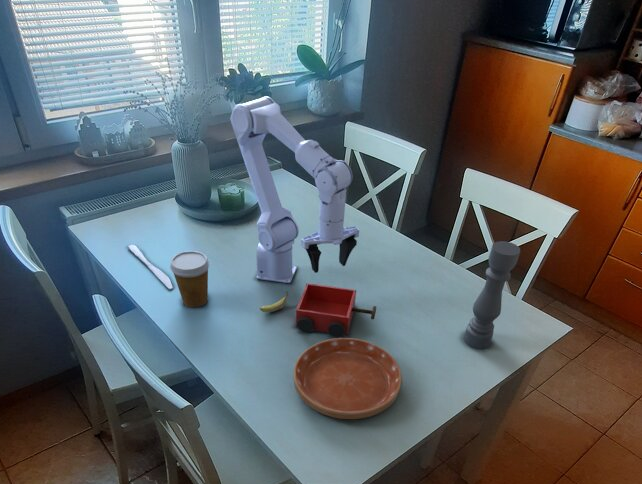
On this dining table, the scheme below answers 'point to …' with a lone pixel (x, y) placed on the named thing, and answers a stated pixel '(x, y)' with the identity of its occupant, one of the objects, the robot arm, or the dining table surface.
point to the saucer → (347, 378)
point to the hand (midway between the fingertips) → (328, 267)
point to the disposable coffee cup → (191, 277)
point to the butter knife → (152, 267)
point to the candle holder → (491, 294)
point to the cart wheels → (335, 327)
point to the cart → (326, 306)
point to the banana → (274, 305)
